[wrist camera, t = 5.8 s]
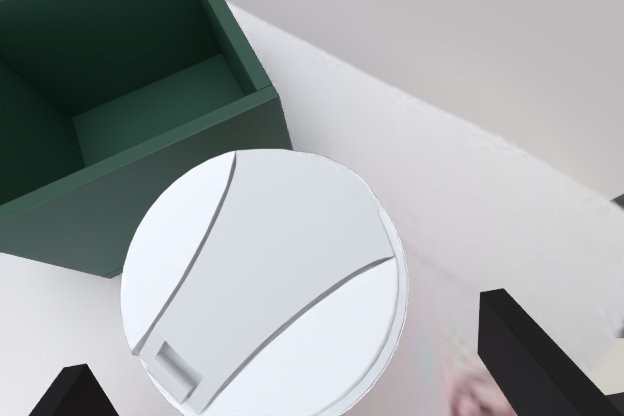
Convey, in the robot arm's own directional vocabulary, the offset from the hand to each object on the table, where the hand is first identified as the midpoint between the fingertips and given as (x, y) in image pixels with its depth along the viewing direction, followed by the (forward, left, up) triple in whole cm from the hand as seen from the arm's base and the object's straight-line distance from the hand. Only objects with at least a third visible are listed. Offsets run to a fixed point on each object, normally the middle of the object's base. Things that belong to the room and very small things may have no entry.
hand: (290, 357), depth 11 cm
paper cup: (+2, -1, -10) cm, 10 cm away
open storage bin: (+17, +3, -10) cm, 20 cm away
